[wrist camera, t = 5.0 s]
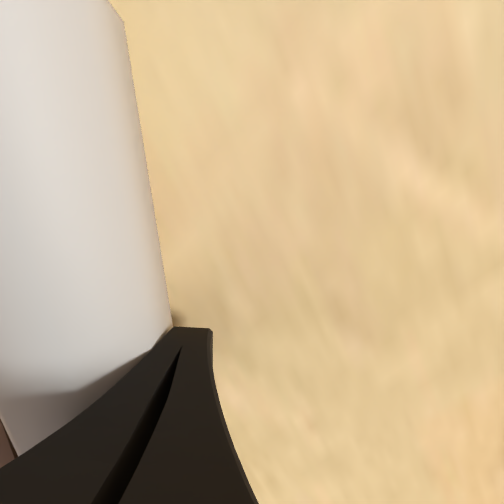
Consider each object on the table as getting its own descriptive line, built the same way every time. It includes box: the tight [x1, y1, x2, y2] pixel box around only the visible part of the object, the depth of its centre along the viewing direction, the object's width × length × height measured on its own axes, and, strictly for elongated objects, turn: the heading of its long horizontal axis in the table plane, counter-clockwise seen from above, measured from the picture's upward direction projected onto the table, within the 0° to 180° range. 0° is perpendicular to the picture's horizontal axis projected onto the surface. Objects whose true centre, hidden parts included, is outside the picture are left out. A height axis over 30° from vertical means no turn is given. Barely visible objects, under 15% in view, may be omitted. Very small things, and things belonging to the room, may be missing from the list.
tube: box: [0, 0, 173, 457], centre depth 10 cm, size 5×5×25 cm
